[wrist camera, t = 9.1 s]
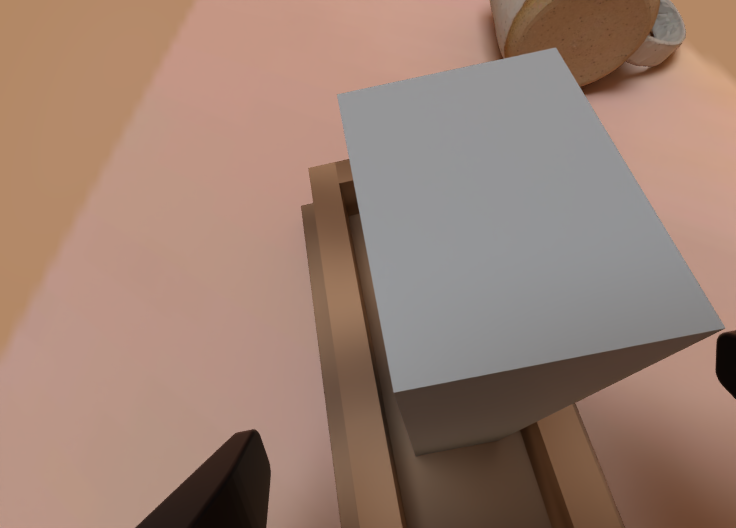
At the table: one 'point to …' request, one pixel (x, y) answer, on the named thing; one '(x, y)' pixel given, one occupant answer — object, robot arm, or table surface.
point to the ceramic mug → (590, 32)
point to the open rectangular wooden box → (386, 426)
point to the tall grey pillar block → (508, 249)
